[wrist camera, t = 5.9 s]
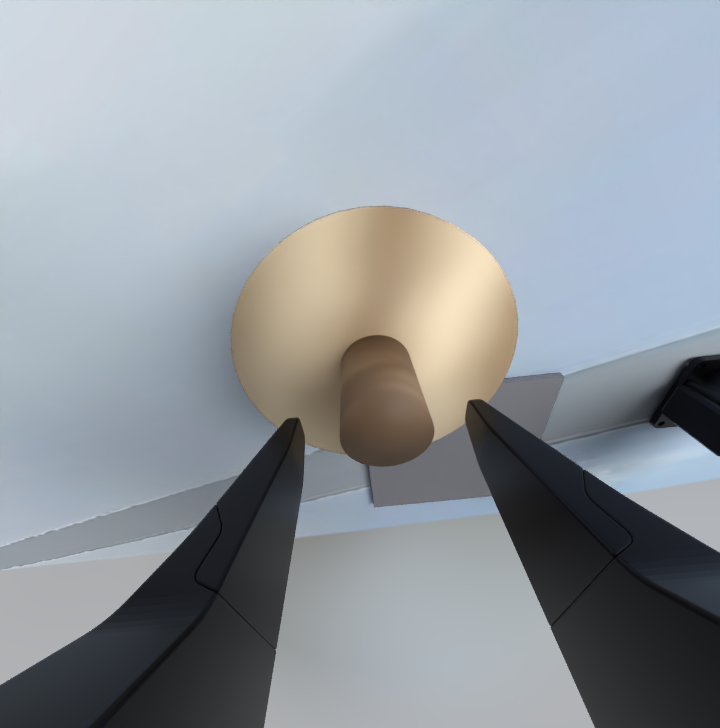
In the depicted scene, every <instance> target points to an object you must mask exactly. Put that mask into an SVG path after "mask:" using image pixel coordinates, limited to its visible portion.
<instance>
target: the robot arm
mask: <svg viewBox="0 0 720 728" xmlns="http://www.w3.org/2000/svg"><path fill="white" fill-rule="evenodd" d="M465 424H466V427H467V430H468V433H469V437H470V440H471V443H472V446H473V449H474V452H475V456H476V459H477V462H478V465H479V467H480V470H481V472H482V474H483V477H484V479H485V481H486V483H487V486H488V488H489V490H490V492H491V495H492V497H493V499H494V501H495V504H496V506H497V508H498V510H499V513H500V515H501V517H502V519H503V522H504V523H505V526H506V528H507V530H508V533H509V535H510V537H511V539H512V542H513V544H514V546H515V548H516V551H517V553H518V555H519V557H520V560H521V562H522V564H523V566H524V569H525V571H526V573H527V575H528V578H529V580H530V582H531V584H532V587H533V589H534V591H535V593H536V596H537V598H538V600H539V602H540V605H541V607H542V609H543V611H544V613H545V615H546V618H547V620H548V622H549V625H550V626H551V630H552V632H553V634H554V636H555V639H556V641H557V643H558V645H559V648H560V650H561V652H562V654H563V657H564V659H565V661H566V663H567V666H568V668H569V670H570V672H571V675H572V677H573V679H574V681H575V684H576V686H577V688H578V690H579V693H580V695H581V697H582V699H583V702H584V704H585V706H586V708H587V710H588V713H589V715H590V717H591V720H592V722H593V724H594V726H595V728H720V553H719V552H717V551H716V550H714V549H712V548H711V547H709V546H707V545H706V544H704V543H702V542H700V541H699V540H697V539H695V538H694V537H692V536H690V535H689V534H687V533H685V532H684V531H682V530H680V529H678V528H677V527H675V526H673V525H672V524H670V523H669V522H667V521H665V520H664V519H662V518H660V517H658V516H657V515H655V514H653V513H652V512H650V511H648V510H647V509H645V508H643V507H642V506H640V505H638V504H637V503H635V502H634V501H632V500H630V499H629V498H627V497H625V496H624V495H622V494H621V493H619V492H618V491H616V490H615V489H613V488H612V487H610V486H608V485H607V484H605V483H604V482H602V481H601V480H599V479H598V478H596V477H595V476H593V475H592V474H591V473H589V472H588V471H586V470H583V469H582V467H580V466H579V465H577V464H576V463H574V462H573V461H571V460H570V459H568V458H567V457H566V456H564V455H563V454H561V453H560V452H558V451H557V450H555V449H554V448H552V447H551V446H549V445H548V444H547V443H545V442H544V441H542V440H541V439H539V438H538V437H536V436H535V435H533V434H532V433H530V432H529V431H527V430H526V429H525V428H523V427H522V426H520V425H519V424H517V423H516V422H514V421H513V420H511V419H510V418H508V417H507V416H506V415H504V414H503V413H501V412H500V411H498V410H497V409H495V408H494V407H492V406H491V405H489V404H488V403H487V402H485V401H484V400H482V399H472V400H469V401H468V402H467V407H466V414H465ZM650 424H651V425H652V426H654V427H655V428H665V427H675V426H679V427H680V428H681V429H682V430H684V431H685V432H686V433H688V434H689V435H690V436H692V437H693V438H694V439H696V440H697V441H698V442H699V443H701V444H702V445H703V446H705V447H706V448H707V449H709V450H710V451H711V452H713V453H714V454H715V455H717V456H720V355H717V356H708V357H699V358H696V359H694V360H692V361H691V362H690V363H689V364H688V366H687V367H686V368H685V370H684V371H683V373H682V374H681V376H680V377H679V379H678V380H677V382H676V383H675V385H674V386H673V388H672V389H671V391H670V392H669V394H668V395H667V397H666V398H665V400H664V401H663V403H662V404H661V406H660V407H659V409H658V410H657V412H656V413H655V415H654V416H653V418H652V419H651V421H650ZM304 452H305V434H304V431H303V427H302V424H301V421H300V419H299V418H298V417H294V418H287V419H286V420H285V421H284V422H283V423H282V425H281V426H280V427H279V428H278V429H277V431H276V432H275V433H274V434H273V435H272V437H271V438H270V439H269V440H268V442H267V443H266V444H265V445H264V446H263V448H262V449H261V450H260V451H259V452H258V454H257V455H256V456H255V457H254V458H253V460H252V461H251V462H250V463H249V464H248V466H247V467H246V468H245V469H244V471H243V472H242V473H241V474H240V475H239V477H238V478H237V479H236V480H235V481H234V483H233V484H232V485H231V486H230V487H229V489H228V490H227V491H226V492H225V493H224V495H223V496H222V497H221V498H220V499H219V501H218V502H217V505H215V506H214V507H213V508H212V509H211V510H210V511H209V513H208V514H207V515H206V516H205V517H204V519H203V520H202V521H201V522H200V523H199V524H198V526H197V527H196V528H195V529H194V530H193V531H192V532H191V534H190V535H189V536H188V537H187V538H186V539H185V540H184V541H183V542H182V543H181V544H180V545H179V547H178V548H177V549H176V550H175V551H174V552H173V553H172V554H171V555H170V556H169V557H168V558H167V559H166V560H165V562H163V563H162V564H161V566H160V567H159V568H158V569H157V570H156V571H155V572H154V573H153V574H152V575H151V576H150V577H149V578H148V579H147V580H146V581H145V582H144V583H143V584H142V585H141V586H140V587H139V588H138V589H137V591H136V592H134V594H133V595H132V596H131V597H130V598H129V599H128V600H127V601H126V602H125V603H124V604H123V605H122V606H121V607H120V608H119V609H118V610H116V611H115V612H114V613H113V614H112V615H111V616H110V617H108V618H107V619H106V620H105V621H103V622H102V623H101V624H100V625H98V626H97V627H95V628H94V629H92V630H91V631H89V632H88V633H86V634H85V635H83V636H81V637H80V638H78V639H77V640H75V641H73V642H71V643H70V644H68V645H66V646H65V647H63V648H61V649H60V650H58V651H56V652H55V653H53V654H51V655H50V656H48V657H46V658H45V659H43V660H41V661H40V662H38V663H36V664H35V665H33V666H31V667H30V668H28V669H26V670H25V671H23V672H21V673H20V674H18V675H16V676H15V677H13V678H11V679H10V680H8V681H6V682H5V683H3V684H1V685H0V728H264V723H265V717H266V710H267V704H268V698H269V692H270V685H271V679H272V673H273V667H274V661H275V654H276V650H275V649H276V647H277V642H278V635H279V629H280V623H281V617H282V610H283V604H284V598H285V591H286V586H287V580H288V573H289V567H290V561H291V555H292V549H293V543H294V537H295V530H296V524H297V518H298V512H299V506H300V499H301V493H302V487H303V475H304Z"/></svg>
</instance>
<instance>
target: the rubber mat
mask: <svg viewBox="0 0 720 728" xmlns="http://www.w3.org/2000/svg"><path fill="white" fill-rule="evenodd" d="M563 380H564V376H563V375H562V374H561V373H553V374H543V375H534V376H524V377H514V378H505V379H504V380H503V382H502V383H501V385H500V386H499V388H498V389H497V391H496V393H495V394H494V395H493V396H492V398H491V399H490V400H489V401H488V402H487V403H488V404H489V405H491V406H492V407H494V408H495V409H497V410H498V411H500V412H501V413H503V414H504V415H506V416H507V417H508V418H510V419H511V420H513V421H514V422H516V423H517V424H519V425H520V426H522V427H523V428H525V429H526V430H527V431H529V432H530V433H532V434H533V435H535V436H536V437H538V438H539V439H541V437H542V434H543V431H544V429H545V426H546V424H547V421H548V418H549V416H550V413H551V411H552V408H553V405H554V403H555V400H556V398H557V395H558V392H559V390H560V387H561V385H562V382H563ZM369 470H370V478H371V486H372V494H373V502H374V507H383V506H393V505H403V504H414V503H424V502H435V501H445V500H455V499H466V498H476V497H487V496H492V495H491V492H490V490H489V488H488V486H487V483H486V481H485V479H484V477H483V474H482V472H481V470H480V467H479V465H478V462H477V459H476V456H475V452H474V449H473V446H472V443H471V440H470V437H469V433H468V430H467V427H466V424H463V425H462V426H460V427H459V428H457V429H456V430H454V431H453V432H451V433H449V434H447V435H446V436H444V437H442V438H440V439H438V440H436V441H433V442H431V444H430V446H429V447H428V448H427V449H426V450H425V451H424V452H423V453H422V454H421V455H420V456H418V457H416V458H415V459H413V460H411V461H409V462H406V463H403V464H400V465H395V466H388V467H377V466H370V465H369Z"/></svg>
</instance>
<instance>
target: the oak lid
mask: <svg viewBox="0 0 720 728" xmlns="http://www.w3.org/2000/svg"><path fill="white" fill-rule="evenodd" d="M517 336H518V315H517V308H516V302H515V298H514V295H513V292H512V289H511V286H510V283H509V281H508V279H507V278H506V276H505V274H504V272H503V270H502V268H501V267H500V265H499V264H498V263H497V261H496V260H495V259H494V258H493V256H492V255H491V254H490V252H489V251H488V250H487V249H485V248H484V247H483V246H482V245H481V244H480V243H479V242H478V241H477V240H476V239H474V238H473V237H472V236H470V235H469V234H467V233H466V232H464V231H462V230H461V229H459V228H458V227H456V226H454V225H452V224H450V223H448V222H446V221H444V220H441V219H439V218H437V217H435V216H432V215H430V214H427V213H424V212H420V211H416V210H412V209H408V208H401V207H391V206H369V207H358V208H353V209H348V210H343V211H338V212H335V213H332V214H329V215H327V216H324V217H321V218H318V219H316V220H314V221H312V222H310V223H308V224H307V225H305V226H303V227H301V228H299V229H297V230H296V231H294V232H293V233H292V234H290V235H289V236H288V237H286V238H285V239H284V240H282V241H281V242H280V243H279V244H278V245H277V246H276V247H275V248H274V249H273V250H272V251H271V252H270V253H269V254H268V255H267V256H266V257H265V258H264V259H263V260H262V261H261V262H260V263H259V265H258V266H257V267H256V269H255V270H254V272H253V273H252V274H251V276H250V277H249V279H248V280H247V282H246V284H245V286H244V288H243V290H242V292H241V294H240V296H239V298H238V302H237V305H236V308H235V311H234V315H233V321H232V328H231V351H232V357H233V362H234V367H235V370H236V373H237V375H238V378H239V381H240V383H241V385H242V387H243V389H244V391H245V393H246V394H247V396H248V397H249V399H250V400H251V401H252V403H253V404H254V406H255V407H256V408H257V409H258V410H259V411H260V412H261V413H262V415H263V416H264V417H265V418H266V419H268V420H269V421H270V422H271V423H272V424H274V425H275V426H276V427H277V428H279V427H280V426H281V425H282V423H283V422H284V421H285V420H286V419H287V418H294V417H298V418H299V419H300V421H301V424H302V427H303V431H304V434H305V443H306V444H308V445H311V446H313V447H316V448H320V449H323V450H326V451H331V452H336V453H341V454H347V455H348V456H349V457H351V458H352V459H354V460H355V461H357V462H360V463H362V464H365V465H370V466H377V467H388V466H395V465H400V464H403V463H406V462H409V461H411V460H413V459H415V458H416V457H418V456H420V455H421V454H422V453H423V452H424V451H425V450H426V449H427V448H428V447H429V446H430V444H431V442H433V441H436V440H438V439H440V438H442V437H444V436H446V435H447V434H449V433H451V432H453V431H454V430H456V429H457V428H459V427H460V426H462V425H463V424H465V414H466V407H467V402H468V401H469V400H472V399H482V400H484V401H485V402H488V401H489V400H490V399H491V398H492V396H493V395H494V394H495V393H496V391H497V389H498V388H499V386H500V385H501V383H502V382H503V380H504V378H505V376H506V374H507V372H508V369H509V367H510V365H511V362H512V359H513V356H514V352H515V348H516V342H517Z"/></svg>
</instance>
